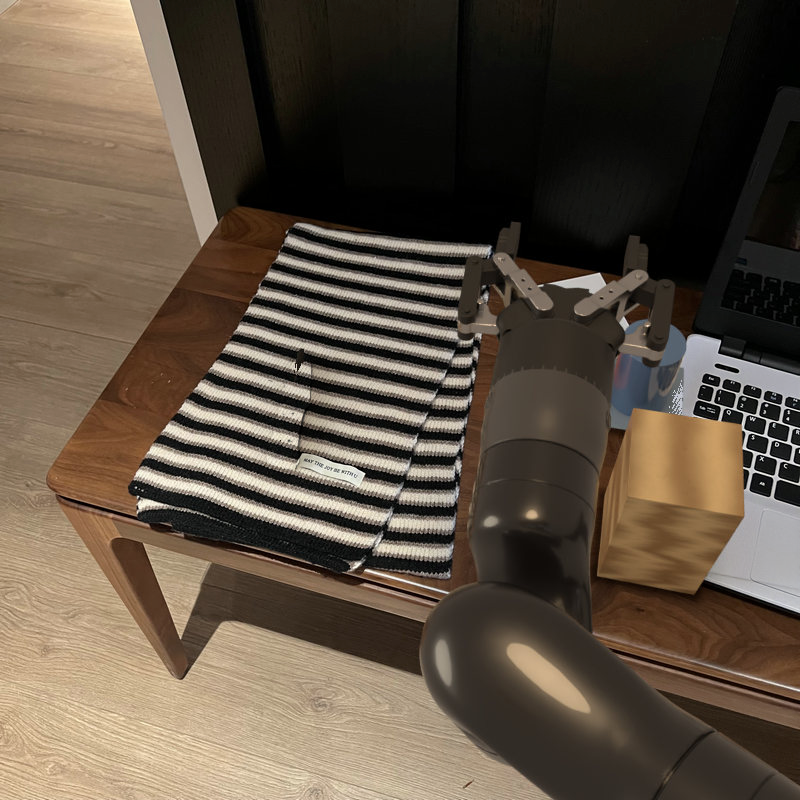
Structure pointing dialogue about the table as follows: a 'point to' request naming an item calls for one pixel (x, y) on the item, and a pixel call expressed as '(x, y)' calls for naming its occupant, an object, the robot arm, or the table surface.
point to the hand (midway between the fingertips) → (573, 237)
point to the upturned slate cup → (646, 375)
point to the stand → (671, 500)
